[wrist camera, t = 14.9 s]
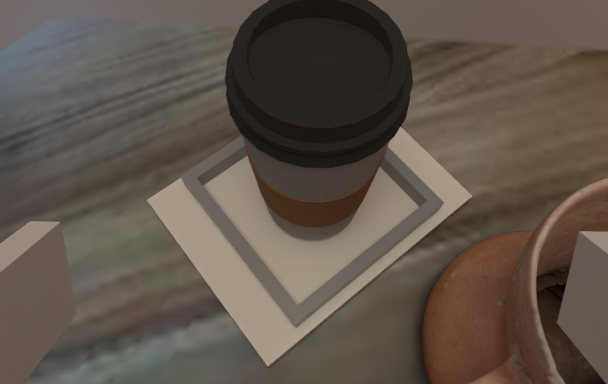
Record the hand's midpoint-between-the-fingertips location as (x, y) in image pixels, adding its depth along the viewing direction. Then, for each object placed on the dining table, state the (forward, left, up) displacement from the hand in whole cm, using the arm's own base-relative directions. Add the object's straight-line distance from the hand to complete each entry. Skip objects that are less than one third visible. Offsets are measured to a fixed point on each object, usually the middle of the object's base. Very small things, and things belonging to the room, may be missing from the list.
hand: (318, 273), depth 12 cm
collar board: (-8, +7, -19) cm, 22 cm away
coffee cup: (-8, +7, -18) cm, 21 cm away
